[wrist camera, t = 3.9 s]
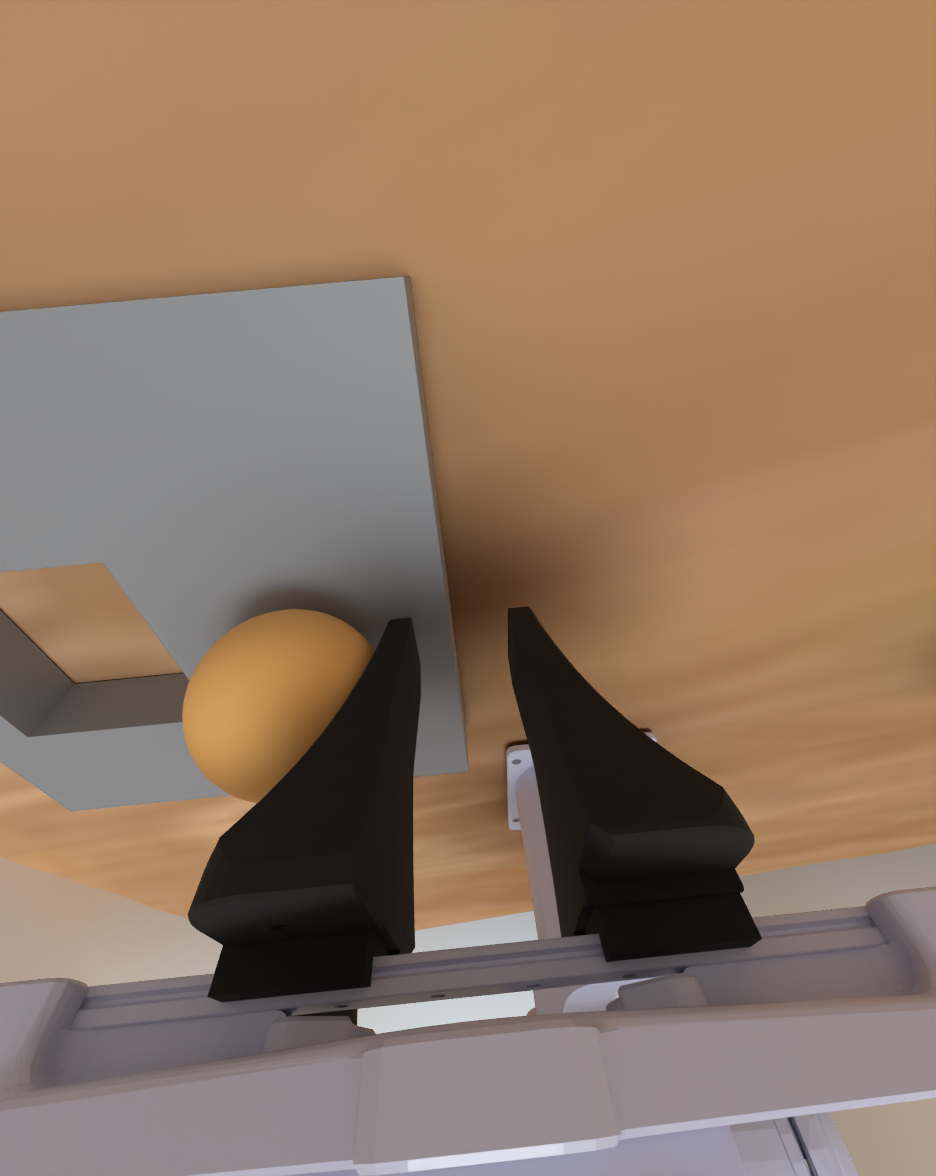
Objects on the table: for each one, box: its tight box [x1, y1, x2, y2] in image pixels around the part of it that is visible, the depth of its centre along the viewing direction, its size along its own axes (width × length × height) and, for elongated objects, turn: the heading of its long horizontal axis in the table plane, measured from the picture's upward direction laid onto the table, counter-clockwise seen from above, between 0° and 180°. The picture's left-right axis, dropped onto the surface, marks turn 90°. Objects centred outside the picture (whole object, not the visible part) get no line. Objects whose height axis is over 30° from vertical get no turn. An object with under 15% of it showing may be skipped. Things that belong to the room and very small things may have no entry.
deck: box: [0, 276, 469, 811], centre depth 14 cm, size 18×18×2 cm
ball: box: [182, 609, 375, 803], centre depth 11 cm, size 5×5×5 cm
